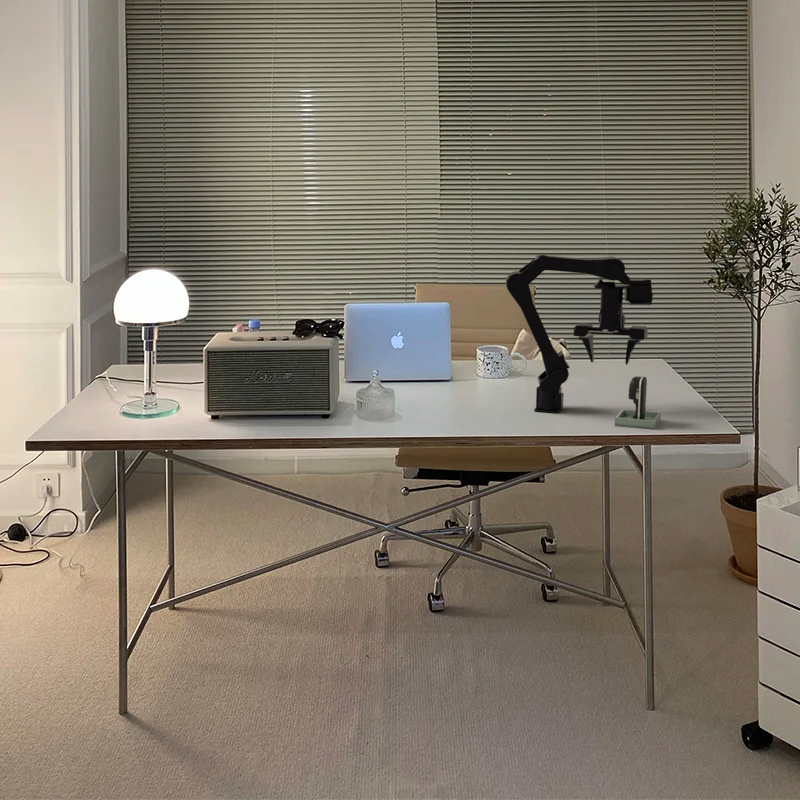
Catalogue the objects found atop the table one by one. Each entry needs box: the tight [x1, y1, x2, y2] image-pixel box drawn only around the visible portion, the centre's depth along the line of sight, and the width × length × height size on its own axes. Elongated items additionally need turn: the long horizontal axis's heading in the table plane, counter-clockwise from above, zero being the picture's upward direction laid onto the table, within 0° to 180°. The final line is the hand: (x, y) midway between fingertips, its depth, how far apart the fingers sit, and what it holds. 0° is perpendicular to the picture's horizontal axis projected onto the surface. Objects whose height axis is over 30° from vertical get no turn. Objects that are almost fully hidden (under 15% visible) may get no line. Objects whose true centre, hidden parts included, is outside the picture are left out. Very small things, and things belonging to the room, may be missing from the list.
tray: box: [614, 409, 662, 430], centre depth 269 cm, size 10×10×2 cm
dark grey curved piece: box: [628, 375, 648, 420], centre depth 267 cm, size 7×4×11 cm, turn 160°
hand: (609, 363), depth 280 cm, fingers open, 9 cm apart
